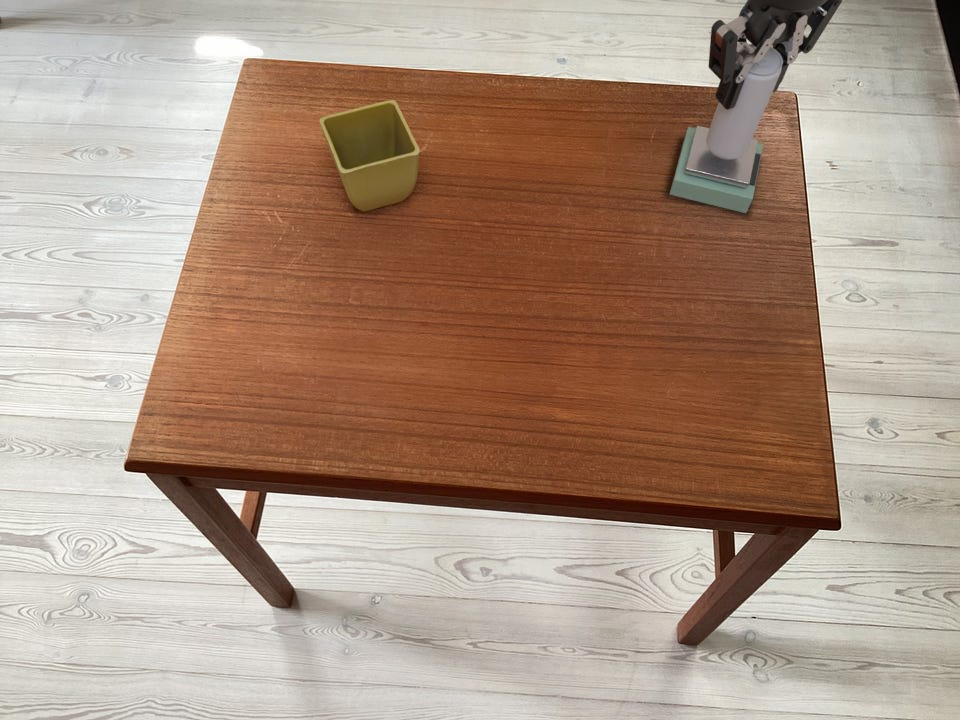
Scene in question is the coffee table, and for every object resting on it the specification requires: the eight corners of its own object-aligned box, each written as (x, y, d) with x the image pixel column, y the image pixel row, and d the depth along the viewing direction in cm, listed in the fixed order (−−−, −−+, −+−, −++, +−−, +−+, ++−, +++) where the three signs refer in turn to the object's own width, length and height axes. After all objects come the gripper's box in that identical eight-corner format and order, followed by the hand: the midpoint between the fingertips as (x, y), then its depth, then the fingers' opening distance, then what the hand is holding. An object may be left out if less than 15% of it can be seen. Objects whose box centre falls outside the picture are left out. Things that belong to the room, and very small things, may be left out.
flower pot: (401, 156, 93) (395, 97, 85) (425, 208, 89) (421, 151, 81) (331, 175, 91) (317, 117, 83) (352, 229, 87) (340, 173, 79)
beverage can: (734, 127, 89) (769, 38, 78) (755, 156, 87) (793, 68, 76) (697, 137, 88) (727, 47, 78) (716, 166, 86) (750, 79, 75)
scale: (756, 159, 93) (764, 142, 91) (745, 213, 89) (753, 197, 86) (683, 141, 94) (688, 125, 92) (669, 194, 90) (674, 178, 88)
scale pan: (756, 144, 90) (758, 139, 90) (747, 188, 87) (749, 183, 86) (695, 130, 91) (697, 125, 91) (684, 173, 88) (685, 168, 87)
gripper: (767, -15, 63) (711, 141, 78) (900, -60, 66) (822, 97, 81) (713, -63, 66) (669, 94, 81) (843, -105, 70) (778, 54, 84)
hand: (746, 95), depth 81 cm, fingers closed on beverage can, 5 cm apart
